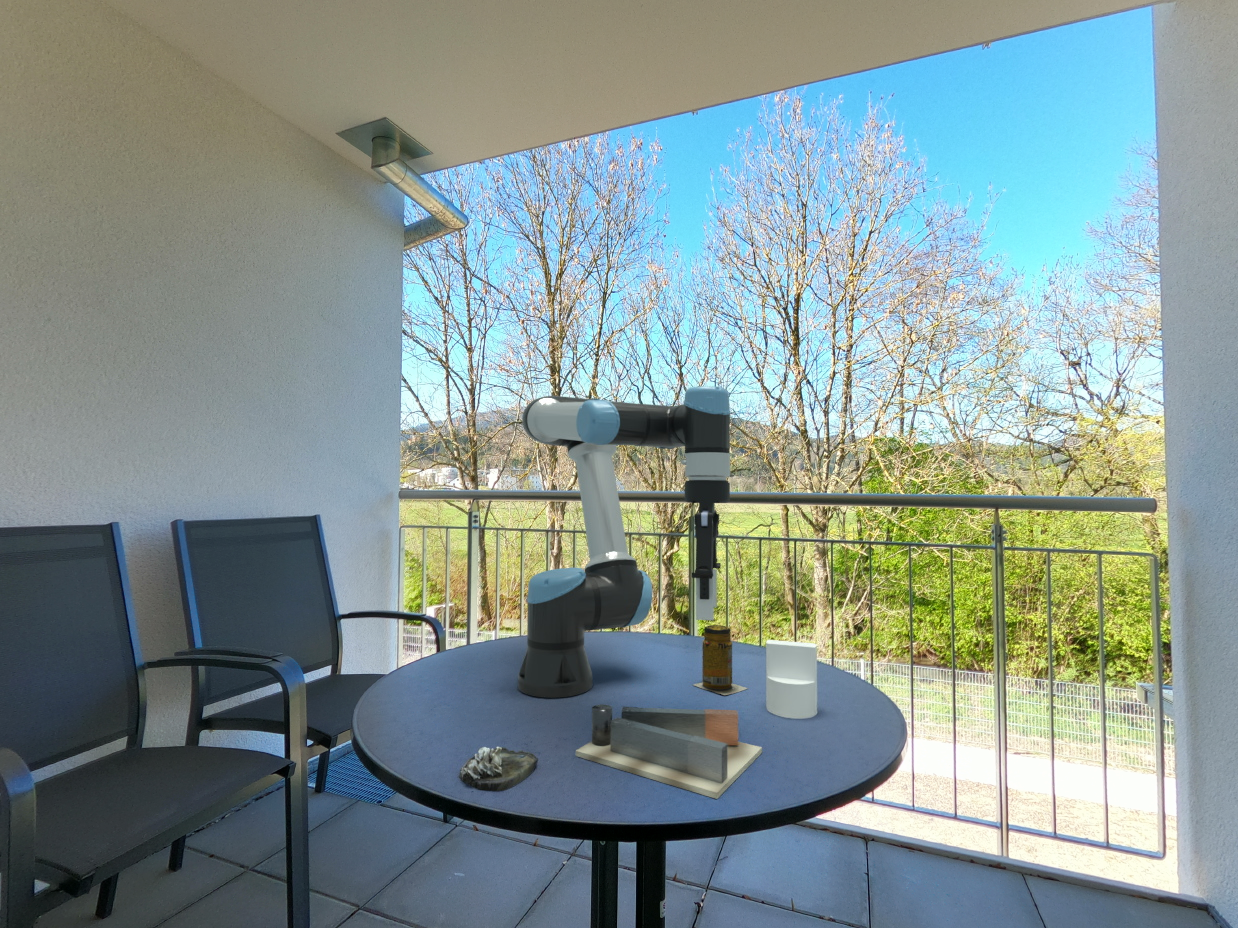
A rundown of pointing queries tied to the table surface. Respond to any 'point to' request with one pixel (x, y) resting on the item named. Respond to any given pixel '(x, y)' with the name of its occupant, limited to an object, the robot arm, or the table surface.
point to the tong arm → (689, 721)
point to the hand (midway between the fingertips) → (707, 612)
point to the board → (736, 765)
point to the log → (497, 768)
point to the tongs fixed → (660, 745)
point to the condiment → (718, 661)
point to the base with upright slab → (791, 679)
